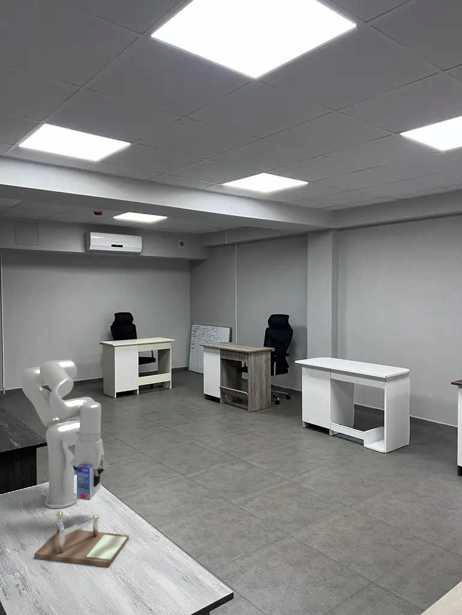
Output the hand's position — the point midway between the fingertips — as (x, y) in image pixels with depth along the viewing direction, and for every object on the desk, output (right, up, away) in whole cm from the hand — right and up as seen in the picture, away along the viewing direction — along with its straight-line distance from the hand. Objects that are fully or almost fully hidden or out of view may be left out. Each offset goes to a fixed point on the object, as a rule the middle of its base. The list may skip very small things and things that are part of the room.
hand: (88, 483), depth 170 cm
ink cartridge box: (0, -4, 0) cm, 4 cm away
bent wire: (-1, -13, -18) cm, 22 cm away
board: (+4, -14, -18) cm, 24 cm away
